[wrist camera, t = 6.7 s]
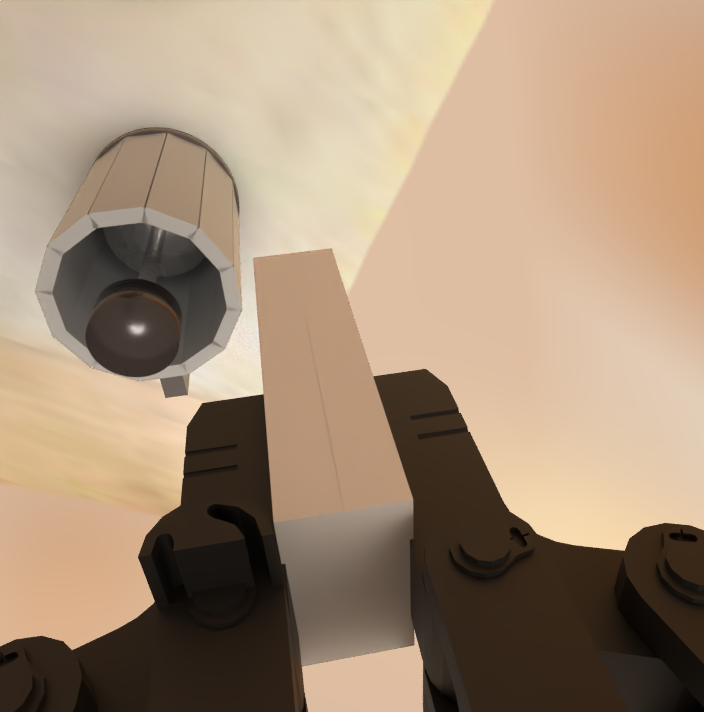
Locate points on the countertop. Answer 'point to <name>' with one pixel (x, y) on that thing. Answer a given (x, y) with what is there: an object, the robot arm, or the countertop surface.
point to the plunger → (140, 302)
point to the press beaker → (161, 209)
